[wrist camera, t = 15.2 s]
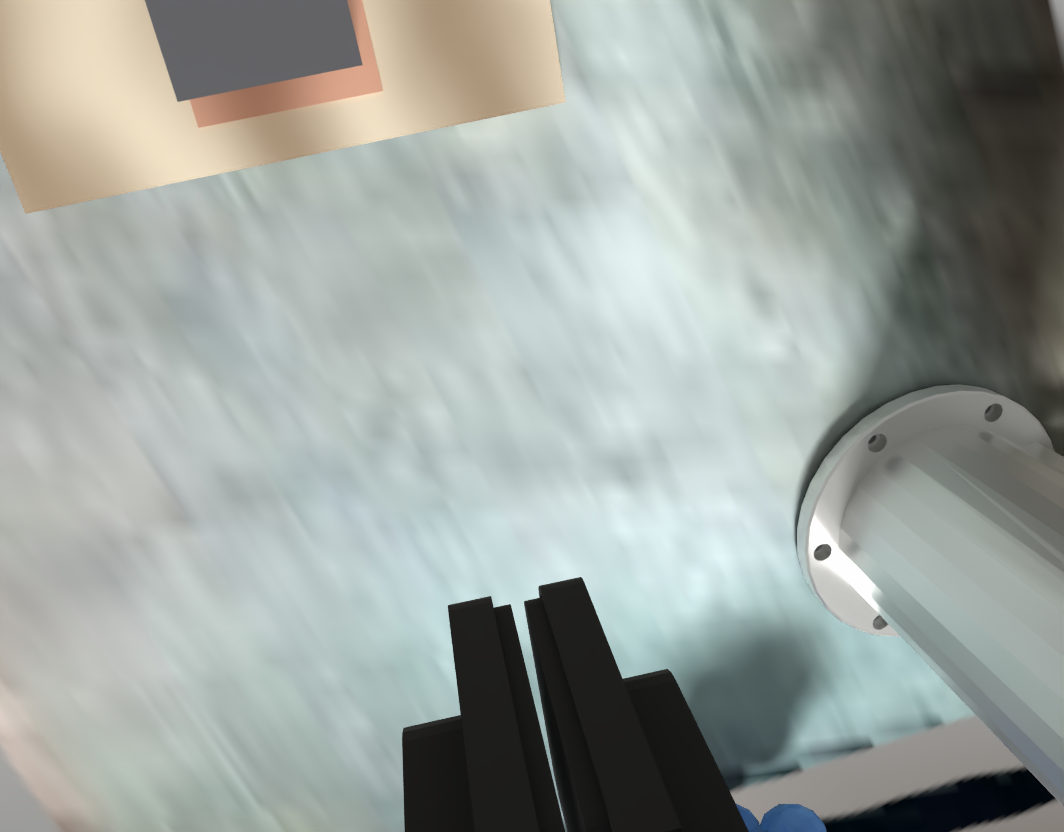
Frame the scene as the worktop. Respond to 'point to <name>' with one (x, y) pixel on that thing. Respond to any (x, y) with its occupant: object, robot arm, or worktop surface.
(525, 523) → the worktop surface
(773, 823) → the blue flower
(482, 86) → the pin board
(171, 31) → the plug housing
